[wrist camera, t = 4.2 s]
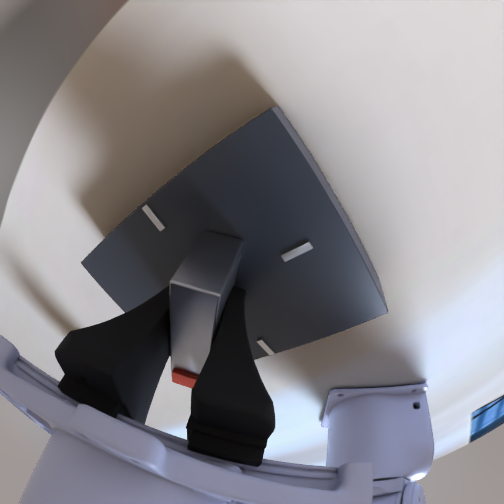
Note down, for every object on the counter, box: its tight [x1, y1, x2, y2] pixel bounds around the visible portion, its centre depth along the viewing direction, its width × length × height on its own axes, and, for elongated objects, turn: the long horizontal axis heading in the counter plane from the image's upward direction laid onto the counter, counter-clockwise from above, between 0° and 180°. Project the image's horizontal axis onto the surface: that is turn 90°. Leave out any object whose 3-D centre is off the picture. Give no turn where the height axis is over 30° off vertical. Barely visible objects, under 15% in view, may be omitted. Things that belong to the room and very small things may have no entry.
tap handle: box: [170, 230, 243, 388], centre depth 12 cm, size 6×2×4 cm, turn 169°
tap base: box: [81, 106, 388, 360], centre depth 15 cm, size 14×11×3 cm
